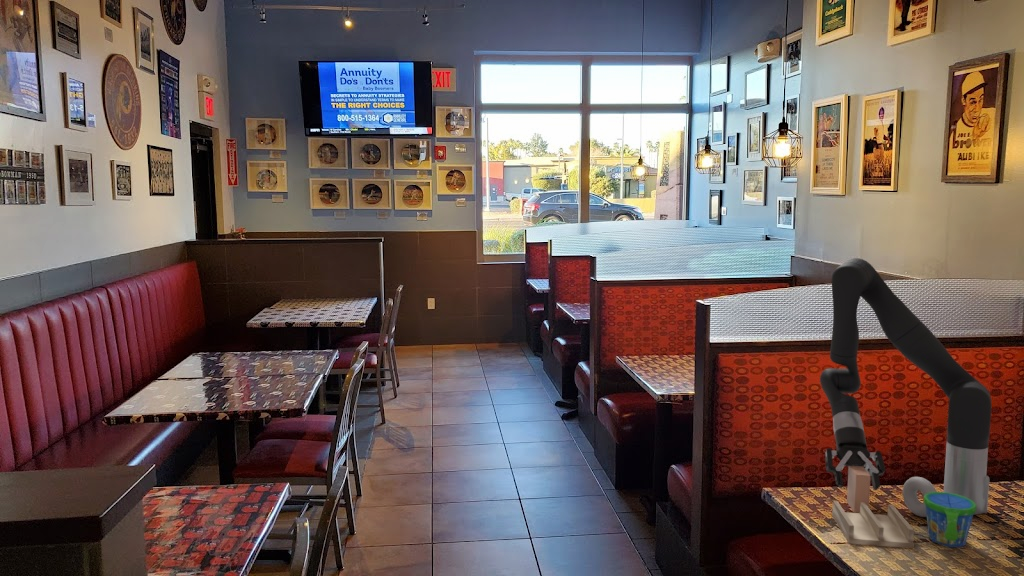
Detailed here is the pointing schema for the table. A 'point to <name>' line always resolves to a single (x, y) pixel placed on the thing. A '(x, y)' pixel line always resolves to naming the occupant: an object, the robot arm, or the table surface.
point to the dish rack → (874, 527)
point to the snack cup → (948, 518)
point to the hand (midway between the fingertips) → (858, 487)
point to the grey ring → (911, 494)
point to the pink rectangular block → (858, 487)
